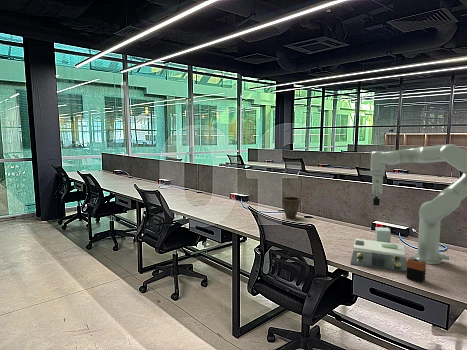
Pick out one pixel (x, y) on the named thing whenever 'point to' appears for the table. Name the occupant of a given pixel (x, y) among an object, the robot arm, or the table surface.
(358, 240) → the level plate
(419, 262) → the battery
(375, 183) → the robot arm
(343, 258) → the table surface
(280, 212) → the table surface
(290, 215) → the plant pot
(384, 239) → the supplement box
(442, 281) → the table surface
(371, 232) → the table surface
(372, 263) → the tribrach base
